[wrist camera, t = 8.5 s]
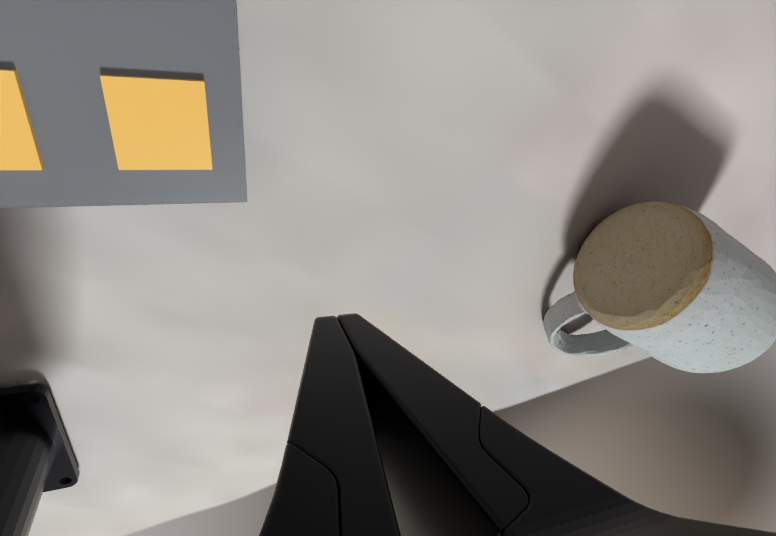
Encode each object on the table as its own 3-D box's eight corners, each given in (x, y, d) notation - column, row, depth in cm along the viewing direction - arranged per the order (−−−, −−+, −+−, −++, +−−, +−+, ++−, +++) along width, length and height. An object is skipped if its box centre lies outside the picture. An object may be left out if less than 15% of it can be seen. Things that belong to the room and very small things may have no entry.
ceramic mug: (625, 170, 24) (765, 238, 18) (696, 225, 28) (830, 296, 22) (505, 321, 27) (588, 422, 21) (584, 351, 32) (673, 442, 25)
